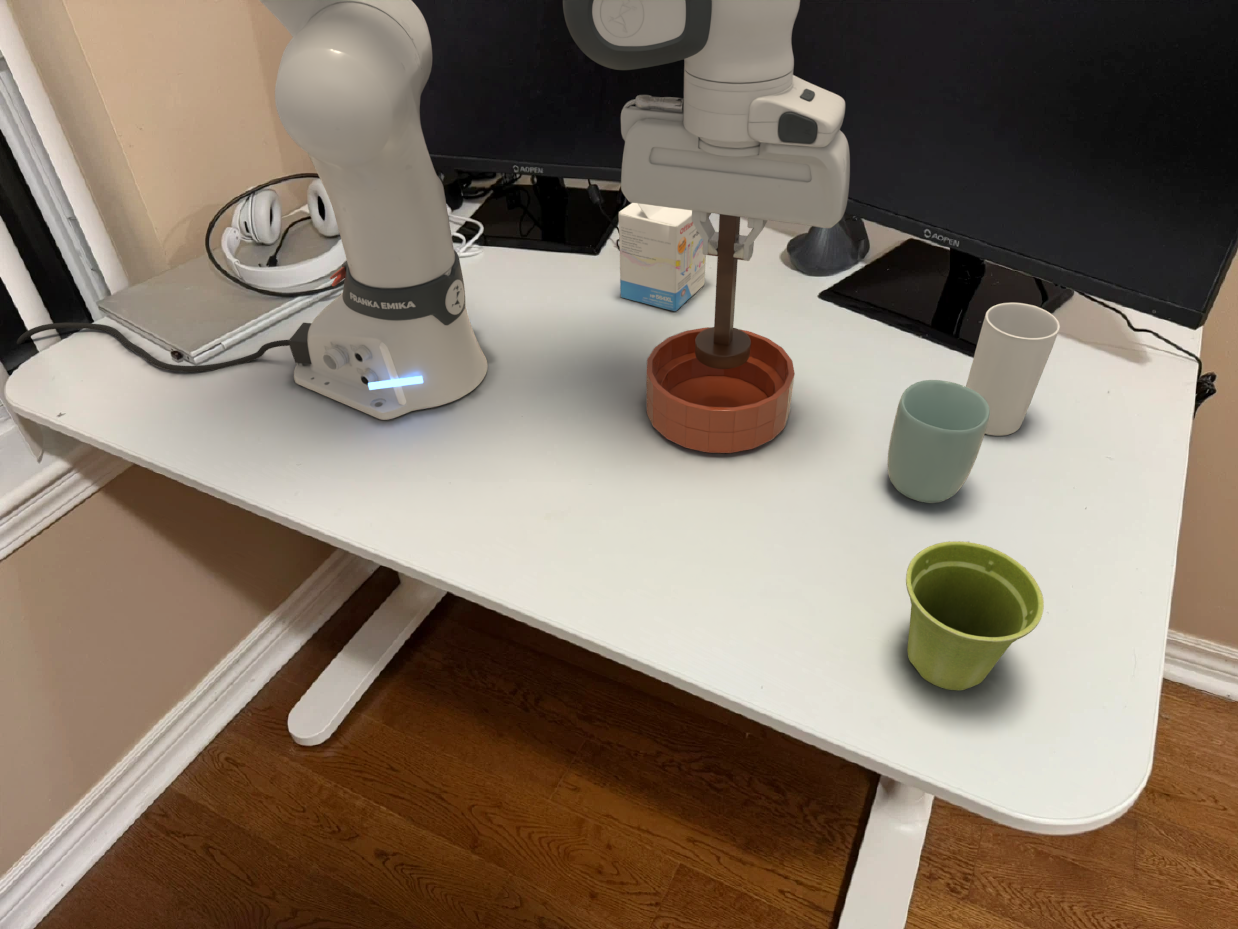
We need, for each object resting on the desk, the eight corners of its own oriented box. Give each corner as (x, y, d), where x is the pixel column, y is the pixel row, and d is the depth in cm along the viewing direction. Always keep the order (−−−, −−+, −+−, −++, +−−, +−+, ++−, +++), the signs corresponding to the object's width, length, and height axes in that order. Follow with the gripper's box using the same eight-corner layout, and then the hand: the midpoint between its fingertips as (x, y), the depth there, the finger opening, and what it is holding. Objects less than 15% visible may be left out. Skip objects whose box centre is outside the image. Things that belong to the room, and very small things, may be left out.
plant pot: (1007, 727, 62) (1042, 656, 56) (876, 689, 65) (898, 617, 59) (1012, 631, 69) (1045, 559, 63) (893, 600, 71) (915, 528, 66)
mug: (1013, 446, 86) (1049, 346, 78) (947, 424, 89) (976, 325, 81) (1039, 396, 92) (1075, 300, 84) (977, 377, 95) (1006, 282, 87)
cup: (972, 476, 83) (1000, 394, 76) (952, 525, 78) (979, 442, 71) (893, 451, 86) (914, 370, 79) (869, 497, 81) (888, 415, 74)
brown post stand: (688, 363, 86) (692, 197, 74) (704, 335, 90) (710, 172, 78) (741, 373, 84) (754, 204, 72) (755, 344, 88) (769, 179, 76)
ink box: (675, 313, 107) (677, 213, 98) (618, 297, 111) (616, 199, 102) (706, 284, 113) (710, 186, 104) (651, 269, 116) (651, 174, 107)
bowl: (626, 439, 88) (625, 393, 85) (672, 361, 99) (673, 317, 95) (769, 471, 84) (775, 423, 80) (800, 386, 95) (807, 341, 91)
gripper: (606, 104, 71) (613, 254, 80) (852, 128, 65) (828, 287, 74) (632, 81, 76) (635, 226, 85) (865, 101, 70) (841, 255, 79)
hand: (727, 255), depth 79 cm, fingers closed on brown post stand
